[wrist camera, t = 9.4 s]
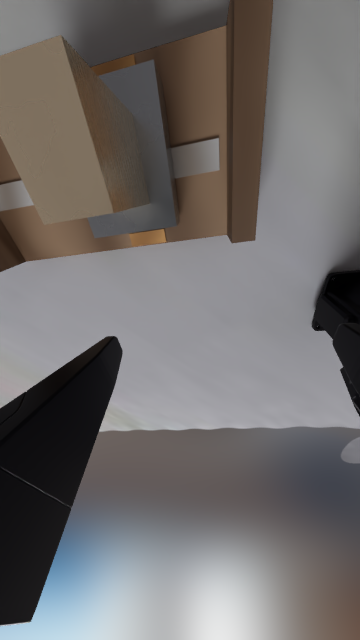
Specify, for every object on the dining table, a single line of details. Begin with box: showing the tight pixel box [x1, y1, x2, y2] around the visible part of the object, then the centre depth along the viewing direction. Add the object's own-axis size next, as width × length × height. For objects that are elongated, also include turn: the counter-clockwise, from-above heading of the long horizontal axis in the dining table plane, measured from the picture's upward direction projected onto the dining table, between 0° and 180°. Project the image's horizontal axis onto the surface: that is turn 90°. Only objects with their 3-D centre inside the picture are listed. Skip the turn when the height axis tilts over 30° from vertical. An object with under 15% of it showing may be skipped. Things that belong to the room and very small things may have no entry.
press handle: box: [0, 35, 180, 238], centre depth 10 cm, size 6×7×8 cm
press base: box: [0, 0, 273, 272], centre depth 13 cm, size 22×10×4 cm, turn 98°
